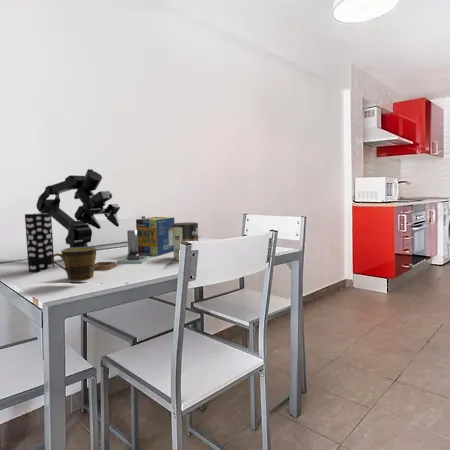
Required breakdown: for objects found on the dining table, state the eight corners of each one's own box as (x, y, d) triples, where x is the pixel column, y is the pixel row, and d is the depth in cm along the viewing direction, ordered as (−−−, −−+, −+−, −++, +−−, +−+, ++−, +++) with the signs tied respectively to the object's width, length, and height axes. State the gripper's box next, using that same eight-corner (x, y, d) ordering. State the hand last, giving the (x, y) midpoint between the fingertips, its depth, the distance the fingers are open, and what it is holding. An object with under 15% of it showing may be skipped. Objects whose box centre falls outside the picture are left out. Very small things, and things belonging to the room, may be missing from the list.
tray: (116, 266, 137) (116, 260, 137) (126, 261, 147) (125, 256, 147) (142, 265, 136) (141, 260, 136) (149, 261, 146) (149, 256, 146)
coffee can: (202, 256, 155) (201, 222, 154) (195, 260, 145) (194, 224, 143) (178, 255, 157) (177, 222, 156) (169, 260, 147) (168, 224, 146)
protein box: (136, 255, 161) (135, 219, 160) (156, 249, 175) (155, 216, 174) (157, 256, 157) (156, 219, 156) (176, 250, 171) (174, 216, 170)
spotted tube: (28, 273, 128) (24, 215, 126) (28, 269, 135) (24, 213, 134) (55, 270, 132) (51, 213, 130) (53, 266, 139) (50, 212, 137)
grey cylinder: (128, 263, 139) (126, 231, 138) (127, 261, 143) (125, 230, 142) (140, 262, 140) (138, 230, 139) (139, 260, 144) (137, 229, 143)
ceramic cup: (90, 276, 122) (89, 245, 121) (103, 281, 114) (101, 248, 113) (48, 283, 113) (46, 250, 112) (59, 288, 106) (56, 253, 105)
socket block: (90, 272, 126) (90, 265, 126) (99, 268, 133) (98, 261, 133) (109, 272, 126) (109, 265, 126) (117, 268, 132) (116, 261, 132)
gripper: (77, 184, 139) (99, 214, 134) (115, 184, 155) (136, 211, 150) (65, 205, 144) (86, 235, 139) (103, 203, 160) (123, 230, 155)
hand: (109, 227), depth 146 cm, fingers open, 9 cm apart
